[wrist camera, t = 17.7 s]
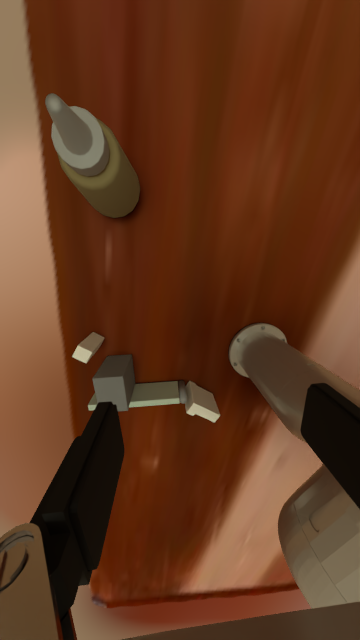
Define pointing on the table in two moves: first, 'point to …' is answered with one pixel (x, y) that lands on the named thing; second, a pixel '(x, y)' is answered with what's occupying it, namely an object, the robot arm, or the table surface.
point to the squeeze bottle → (93, 159)
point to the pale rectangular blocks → (196, 396)
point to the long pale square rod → (153, 394)
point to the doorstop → (115, 381)
